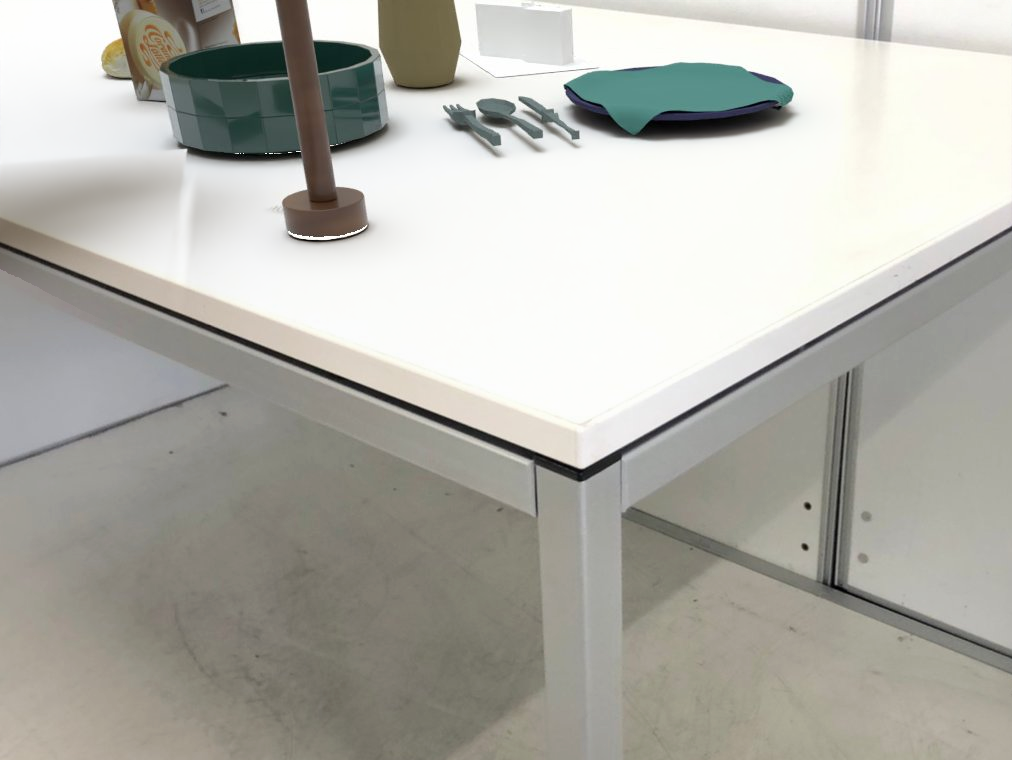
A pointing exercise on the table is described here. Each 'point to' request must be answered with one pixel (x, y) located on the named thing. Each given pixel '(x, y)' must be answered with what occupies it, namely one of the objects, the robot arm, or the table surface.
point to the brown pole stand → (313, 139)
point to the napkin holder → (524, 39)
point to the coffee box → (170, 35)
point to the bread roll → (115, 60)
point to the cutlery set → (645, 97)
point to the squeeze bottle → (419, 41)
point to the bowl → (269, 96)
